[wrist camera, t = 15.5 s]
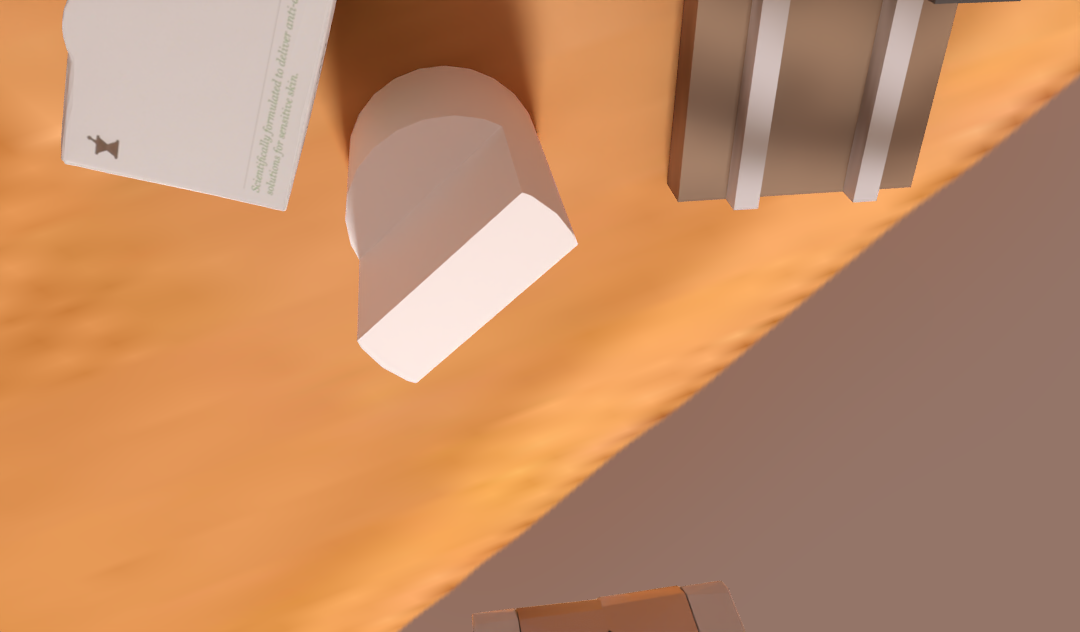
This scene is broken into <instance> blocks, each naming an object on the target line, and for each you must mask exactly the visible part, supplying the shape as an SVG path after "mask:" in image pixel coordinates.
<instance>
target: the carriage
mask: <svg viewBox="0 0 1080 632" xmlns="http://www.w3.org/2000/svg"><path fill="white" fill-rule="evenodd" d="M928 1H930V2H932V3H934V4H949V3H977V2H1004V1H1021V0H928Z"/></svg>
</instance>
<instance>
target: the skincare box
mask: <svg viewBox="0 0 1080 632" xmlns="http://www.w3.org/2000/svg"><path fill="white" fill-rule="evenodd" d="M335 5H336V0H67V3H66V5H65V8H64V12H63V21H62V30H63V38H64V41H65V45H66V48H67V51H68V59H67V72H66V84H65V96H64V110H63V121H62V137H61V158H62V160H63V161H64V162H65V164H68V165H74V166H79V167H83V168H87V169H92V170H97V171H101V172H106V173H110V174H115V175H120V176H124V177H129V178H134V179H139V180H143V181H148V182H153V183H158V184H163V185H167V186H172V187H177V188H182V189H187V190H191V191H196V192H201V193H206V194H210V195H215V196H219V197H224V198H228V199H232V200H237V201H241V202H245V203H250V204H254V205H259V206H263V207H267V208H272V209H276V210H281V211H285V210H286V208H287V205H288V201H289V197H290V193H291V189H292V185H293V182H294V178H295V174H296V170H297V167H298V163H299V159H300V155H301V151H302V148H303V144H304V140H305V136H306V132H307V128H308V124H309V120H310V116H311V111H312V107H313V103H314V99H315V95H316V91H317V87H318V82H319V78H320V73H321V69H322V65H323V60H324V56H325V52H326V47H327V42H328V38H329V33H330V29H331V24H332V19H333V15H334V10H335Z"/></svg>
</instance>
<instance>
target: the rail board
mask: <svg viewBox="0 0 1080 632" xmlns="http://www.w3.org/2000/svg"><path fill="white" fill-rule="evenodd" d="M957 5H958V3H949V4H934V3H932V2H930V1H928V0H684V8H683V19H682V30H681V41H680V52H679V62H678V73H677V84H676V95H675V106H674V117H673V127H672V138H671V149H670V160H669V171H668V181H667V184H668V186H669V188H670V189H671V191H672V193H673V194H674V196H675V198H676V199H677V201H678V202H684V201H699V200H715V199H726V200H727V201H728V203H729V204H730V205H731V207H732V208H733V210H743V209H758V205H759V199H760V197H763V196H778V195H794V194H810V193H826V192H841V191H843V192H844V193H845V194H846V196H847V197H848V198H849V199H850V200H851V201H852V202H866V201H876V200H877V196H878V192H879V189H889V188H904V187H911V184H912V180H913V176H914V172H915V169H916V165H917V161H918V157H919V153H920V149H921V145H922V141H923V137H924V134H925V130H926V126H927V122H928V118H929V114H930V110H931V106H932V102H933V99H934V95H935V91H936V87H937V83H938V79H939V75H940V71H941V67H942V64H943V60H944V56H945V52H946V48H947V44H948V40H949V36H950V32H951V29H952V25H953V21H954V17H955V13H956V9H957Z"/></svg>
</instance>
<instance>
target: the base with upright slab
mask: <svg viewBox="0 0 1080 632" xmlns="http://www.w3.org/2000/svg"><path fill="white" fill-rule="evenodd" d="M345 221H346V225H347V229H348V234H349V238H350V243H351V246H352V247H353V249H354V251H355V253H356V254H357V256H358V258H359V260H360V261H359V296H358V332H357V341H358V343H359V345H360V346H361V348H362V349H363V350H364V351H365V352H366V353H367V354H368V355H370V356H371V357H372V358H373V359H374V360H375V361H376V362H377V363H378V364H379V365H380V366H381V367H383V368H385V369H387V370H388V371H390V372H392V373H394V374H396V375H398V376H399V377H401V378H403V379H405V380H407V381H410V382H414V383H417V382H418V381H419V380H420V379H422V378H423V377H424V376H425V375H426V374H427V373H429V372H430V371H431V370H432V369H433V368H434V367H436V366H437V365H438V364H439V363H440V362H441V361H443V360H444V359H445V358H446V357H447V356H448V355H450V354H451V353H452V352H453V351H454V350H455V349H457V348H458V347H459V346H460V345H461V344H462V343H464V342H465V341H466V340H467V339H468V338H469V337H471V336H472V335H473V334H474V333H475V332H476V331H478V330H479V329H480V328H481V327H482V326H483V325H485V324H486V323H487V322H488V321H489V320H490V319H492V318H493V317H494V316H495V315H496V314H497V313H499V312H500V311H501V310H502V309H503V308H504V307H506V306H507V305H508V304H509V303H510V302H511V301H513V300H514V299H515V298H516V297H517V296H518V295H520V294H521V293H522V292H523V291H524V290H525V289H527V288H528V287H529V286H530V285H531V284H532V283H534V282H535V281H536V280H537V279H538V278H539V277H541V276H542V275H543V274H544V273H545V272H546V271H548V270H549V269H550V268H551V267H552V266H553V265H555V264H556V263H557V262H558V261H559V260H560V259H562V258H563V257H564V256H565V255H566V254H567V253H569V252H570V251H571V250H572V249H573V248H574V247H576V246H577V245H578V243H577V241H576V238H575V235H574V233H573V230H572V227H571V224H570V222H569V219H568V216H567V214H566V211H565V208H564V206H563V203H562V200H561V198H560V195H559V192H558V189H557V187H556V184H555V181H554V178H553V176H552V173H551V170H550V168H549V165H548V162H547V160H546V157H545V154H544V152H543V149H542V146H541V144H540V141H539V138H538V136H537V133H536V130H535V128H534V125H533V123H532V120H531V117H530V115H529V113H528V111H527V110H526V109H525V107H524V106H523V105H522V103H521V102H520V101H519V99H518V98H517V97H516V95H515V94H514V93H513V92H511V91H510V90H509V89H507V88H506V87H505V86H504V85H502V84H501V83H500V82H498V81H497V80H496V79H494V78H492V77H489V76H487V75H484V74H482V73H480V72H477V71H475V70H472V69H468V68H460V67H453V66H437V67H429V68H421V69H417V70H415V71H412V72H410V73H407V74H405V75H402V76H400V77H397V78H395V79H393V80H392V81H391V82H389V83H388V84H387V85H385V86H384V87H383V88H382V89H380V90H379V91H378V92H376V93H375V94H374V95H373V96H372V98H371V99H370V100H369V102H368V103H367V104H366V106H365V107H364V108H363V110H362V111H361V112H360V114H359V116H358V118H357V121H356V124H355V126H354V129H353V132H352V134H351V137H350V151H349V166H348V183H347V200H346V218H345Z"/></svg>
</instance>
